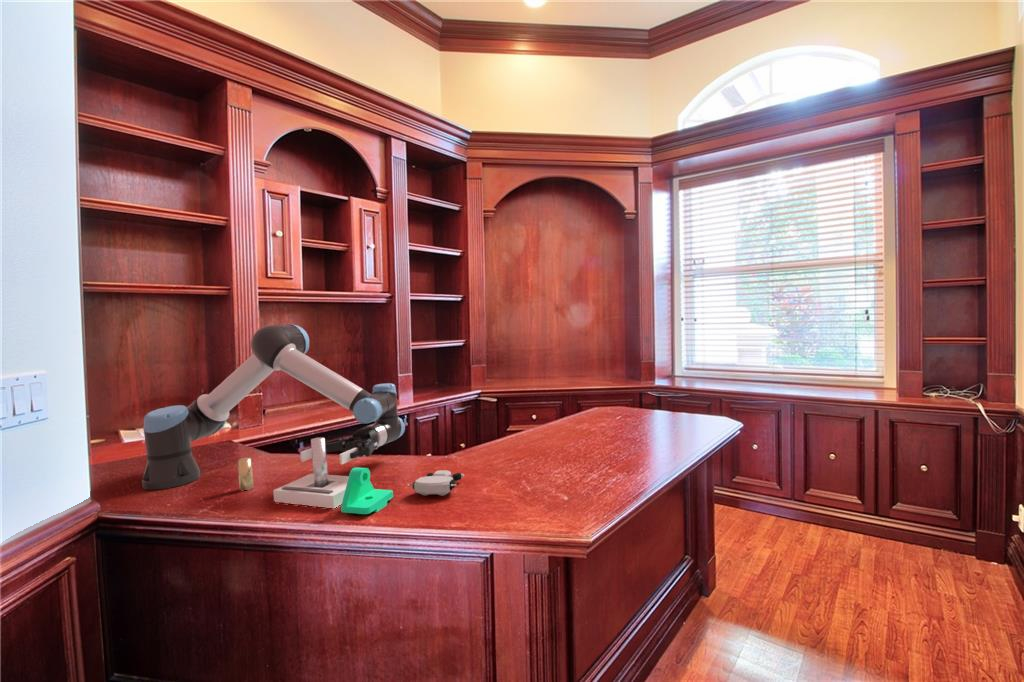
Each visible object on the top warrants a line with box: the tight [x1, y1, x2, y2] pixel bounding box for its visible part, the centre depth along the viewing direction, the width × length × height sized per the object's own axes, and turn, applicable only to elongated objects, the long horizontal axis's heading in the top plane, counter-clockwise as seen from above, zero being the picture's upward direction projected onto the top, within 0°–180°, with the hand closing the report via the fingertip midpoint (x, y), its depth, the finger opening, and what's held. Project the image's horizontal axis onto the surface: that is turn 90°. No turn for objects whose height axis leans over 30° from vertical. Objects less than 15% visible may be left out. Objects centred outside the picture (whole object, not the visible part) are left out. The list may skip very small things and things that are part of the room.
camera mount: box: [340, 467, 394, 515], centre depth 124 cm, size 12×8×10 cm, turn 162°
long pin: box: [310, 436, 329, 488], centre depth 134 cm, size 4×4×16 cm
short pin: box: [236, 456, 255, 491], centre depth 144 cm, size 4×4×9 cm
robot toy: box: [407, 469, 465, 497], centre depth 134 cm, size 12×4×15 cm
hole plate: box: [272, 472, 349, 510], centre depth 134 cm, size 20×14×4 cm
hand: (320, 458), depth 134 cm, fingers open, 13 cm apart
